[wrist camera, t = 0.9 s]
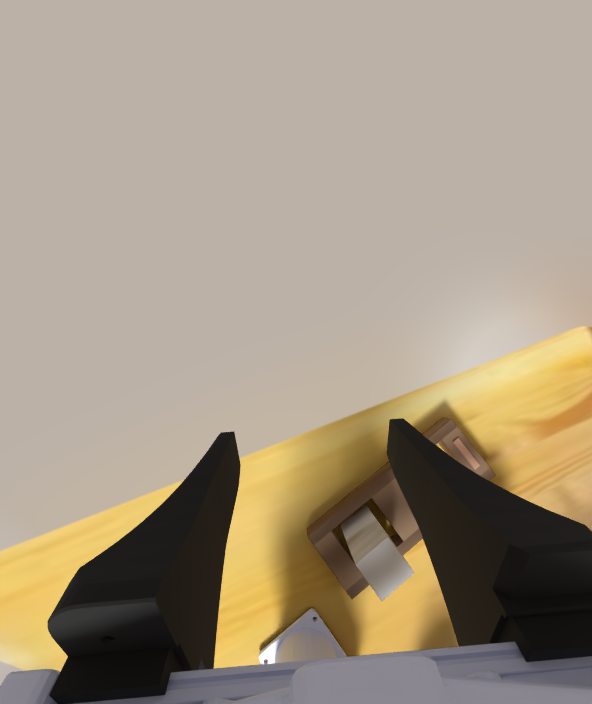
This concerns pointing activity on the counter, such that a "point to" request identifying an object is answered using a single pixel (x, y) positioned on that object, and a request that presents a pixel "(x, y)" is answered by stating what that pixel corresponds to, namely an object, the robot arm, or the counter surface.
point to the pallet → (368, 534)
